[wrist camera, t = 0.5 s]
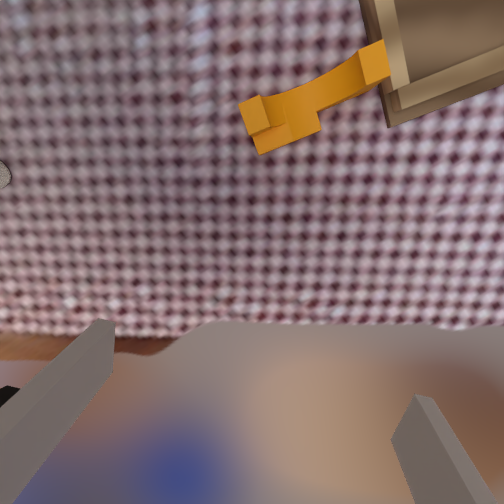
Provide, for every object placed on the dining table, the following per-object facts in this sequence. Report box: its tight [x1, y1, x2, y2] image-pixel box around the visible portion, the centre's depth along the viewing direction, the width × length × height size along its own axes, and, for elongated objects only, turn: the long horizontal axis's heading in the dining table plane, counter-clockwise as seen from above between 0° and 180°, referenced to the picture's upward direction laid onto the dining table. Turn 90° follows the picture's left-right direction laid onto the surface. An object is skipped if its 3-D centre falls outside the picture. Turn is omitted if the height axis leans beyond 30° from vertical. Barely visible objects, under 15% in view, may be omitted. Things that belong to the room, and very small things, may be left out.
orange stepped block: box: [238, 39, 391, 155], centre depth 27 cm, size 12×4×6 cm, turn 111°
